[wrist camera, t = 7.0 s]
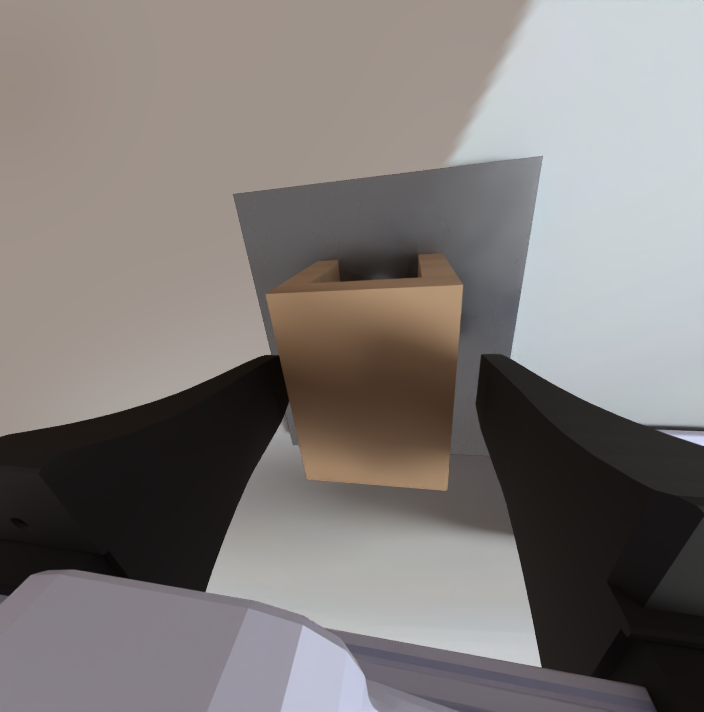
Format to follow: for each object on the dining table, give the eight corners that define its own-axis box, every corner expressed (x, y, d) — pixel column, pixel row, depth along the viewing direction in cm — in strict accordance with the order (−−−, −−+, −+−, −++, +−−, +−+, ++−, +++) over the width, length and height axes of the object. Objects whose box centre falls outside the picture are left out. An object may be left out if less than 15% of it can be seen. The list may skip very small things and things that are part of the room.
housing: (435, 403, 14) (447, 491, 10) (336, 400, 15) (306, 479, 11) (442, 252, 11) (463, 284, 7) (316, 261, 12) (265, 294, 8)
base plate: (489, 442, 16) (508, 498, 13) (298, 433, 18) (276, 479, 15) (531, 159, 10) (582, 141, 7) (245, 194, 12) (192, 192, 9)
